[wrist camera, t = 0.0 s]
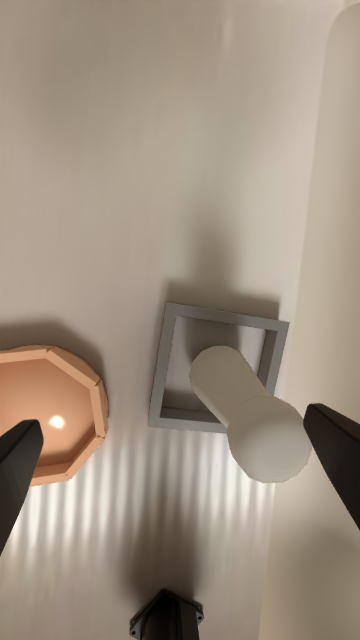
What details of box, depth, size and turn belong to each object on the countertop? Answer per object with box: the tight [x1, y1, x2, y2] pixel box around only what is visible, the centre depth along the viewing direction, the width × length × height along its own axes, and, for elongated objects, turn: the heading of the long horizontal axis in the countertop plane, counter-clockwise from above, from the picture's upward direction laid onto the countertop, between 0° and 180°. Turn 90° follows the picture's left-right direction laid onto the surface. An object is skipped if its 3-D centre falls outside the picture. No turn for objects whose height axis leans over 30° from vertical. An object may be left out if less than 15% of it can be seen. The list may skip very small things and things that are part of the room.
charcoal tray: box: [148, 302, 290, 434], centre depth 23 cm, size 12×12×2 cm
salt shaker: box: [189, 346, 312, 483], centre depth 17 cm, size 6×6×13 cm
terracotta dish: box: [0, 345, 108, 487], centre depth 21 cm, size 13×13×2 cm
